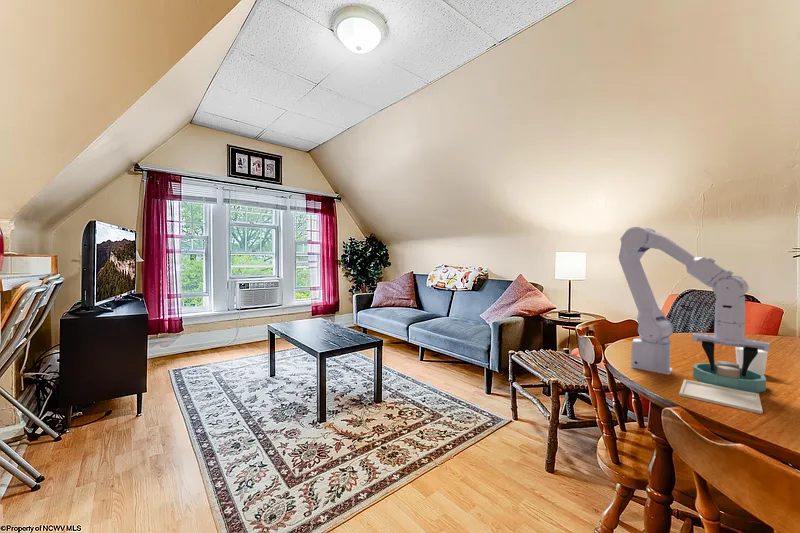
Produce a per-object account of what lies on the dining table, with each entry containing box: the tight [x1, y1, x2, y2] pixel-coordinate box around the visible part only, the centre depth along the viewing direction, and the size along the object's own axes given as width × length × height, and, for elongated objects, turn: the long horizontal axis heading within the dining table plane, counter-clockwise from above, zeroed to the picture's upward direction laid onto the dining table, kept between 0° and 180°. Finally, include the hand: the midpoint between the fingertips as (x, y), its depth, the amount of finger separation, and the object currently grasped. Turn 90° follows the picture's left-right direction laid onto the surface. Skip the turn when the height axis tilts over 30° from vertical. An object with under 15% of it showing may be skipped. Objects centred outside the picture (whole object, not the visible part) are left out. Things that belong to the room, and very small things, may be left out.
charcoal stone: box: [715, 360, 739, 369], centre depth 94 cm, size 5×5×4 cm
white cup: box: [734, 346, 769, 376], centre depth 101 cm, size 7×7×7 cm
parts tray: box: [678, 378, 764, 415], centre depth 83 cm, size 14×13×1 cm
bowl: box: [692, 362, 767, 394], centre depth 92 cm, size 14×14×4 cm
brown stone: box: [716, 366, 740, 379], centre depth 90 cm, size 5×5×4 cm
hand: (727, 372), depth 90 cm, fingers open, 5 cm apart
